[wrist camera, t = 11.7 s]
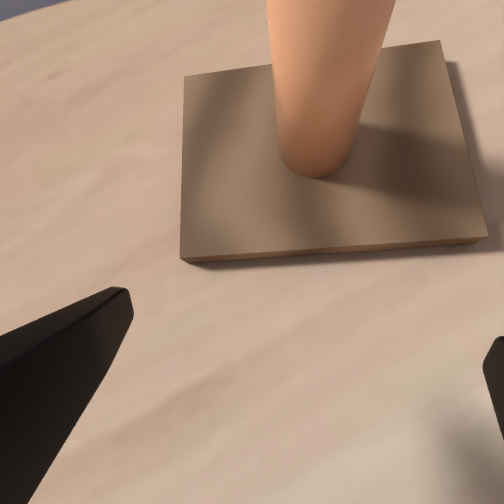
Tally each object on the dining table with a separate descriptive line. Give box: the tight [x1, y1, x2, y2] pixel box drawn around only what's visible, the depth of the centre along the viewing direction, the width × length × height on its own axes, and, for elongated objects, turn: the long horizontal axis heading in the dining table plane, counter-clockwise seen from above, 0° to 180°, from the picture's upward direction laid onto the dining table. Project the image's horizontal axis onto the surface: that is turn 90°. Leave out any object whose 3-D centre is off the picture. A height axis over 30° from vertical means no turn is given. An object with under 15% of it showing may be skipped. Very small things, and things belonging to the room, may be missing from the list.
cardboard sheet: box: [180, 40, 489, 263], centre depth 21 cm, size 18×14×2 cm
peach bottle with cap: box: [266, 0, 396, 178], centre depth 13 cm, size 5×5×14 cm
